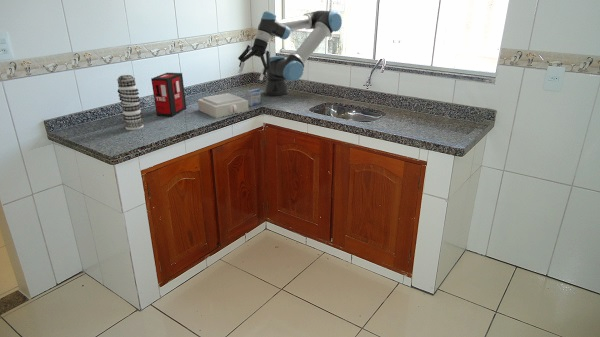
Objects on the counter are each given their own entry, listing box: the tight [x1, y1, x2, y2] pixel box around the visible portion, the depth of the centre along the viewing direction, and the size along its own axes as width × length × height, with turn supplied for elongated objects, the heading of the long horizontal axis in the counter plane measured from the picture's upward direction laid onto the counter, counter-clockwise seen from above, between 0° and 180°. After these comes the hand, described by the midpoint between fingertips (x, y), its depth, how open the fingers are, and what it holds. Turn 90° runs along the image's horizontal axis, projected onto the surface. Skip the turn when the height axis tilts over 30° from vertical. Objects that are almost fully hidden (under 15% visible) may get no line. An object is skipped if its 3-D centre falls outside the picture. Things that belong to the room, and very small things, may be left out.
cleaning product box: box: [151, 72, 187, 118], centre depth 217 cm, size 16×9×20 cm, turn 168°
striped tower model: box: [116, 74, 144, 131], centre depth 192 cm, size 9×9×25 cm
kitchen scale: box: [197, 92, 250, 119], centre depth 221 cm, size 20×21×7 cm
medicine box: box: [245, 88, 262, 107], centre depth 233 cm, size 8×4×9 cm, turn 143°
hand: (250, 76), depth 228 cm, fingers open, 13 cm apart
